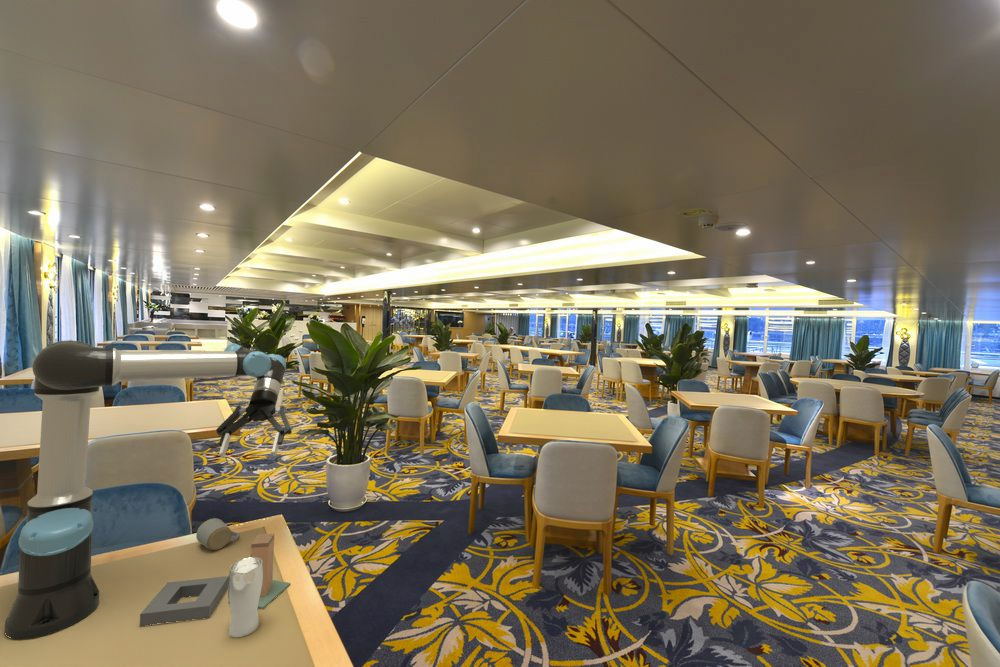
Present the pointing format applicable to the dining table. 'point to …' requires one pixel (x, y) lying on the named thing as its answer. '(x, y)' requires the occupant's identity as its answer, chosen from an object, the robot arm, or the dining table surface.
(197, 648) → the dining table surface
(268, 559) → the brown tall block
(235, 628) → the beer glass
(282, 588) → the mat
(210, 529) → the ceramic mug
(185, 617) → the socket block
